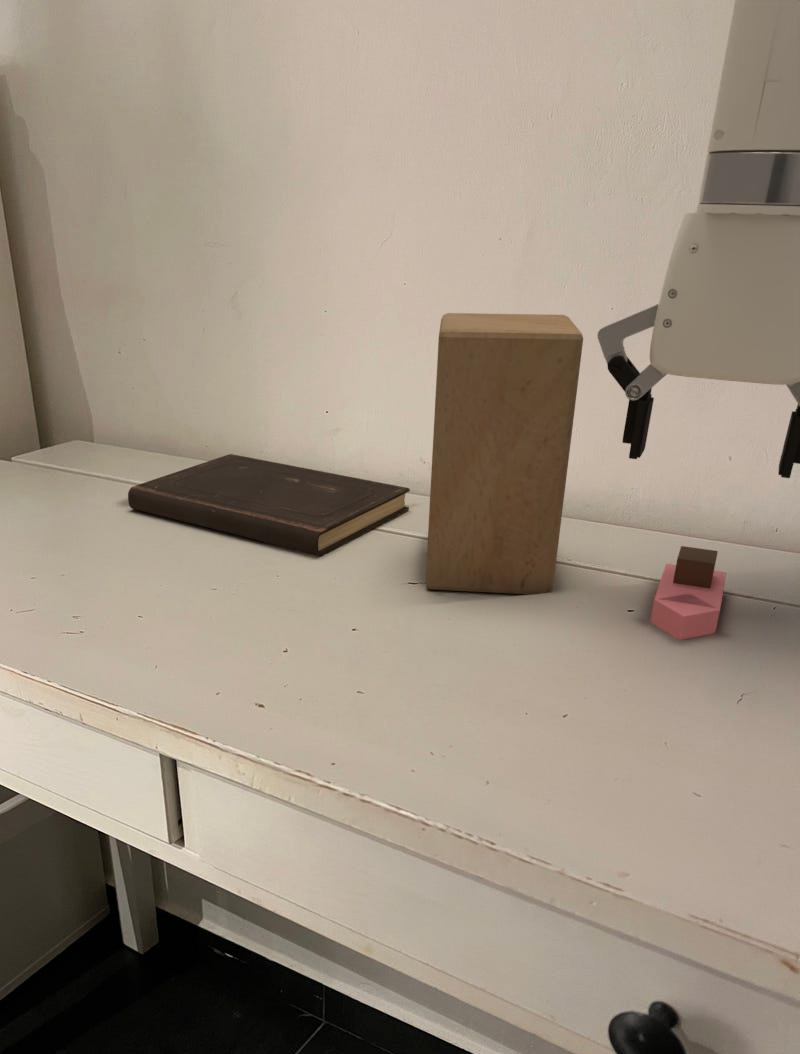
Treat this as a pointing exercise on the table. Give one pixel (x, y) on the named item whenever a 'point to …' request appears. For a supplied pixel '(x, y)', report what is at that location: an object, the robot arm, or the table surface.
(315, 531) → the hardcover book
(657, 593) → the pink and brown blocks
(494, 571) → the wooden block
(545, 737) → the table surface
